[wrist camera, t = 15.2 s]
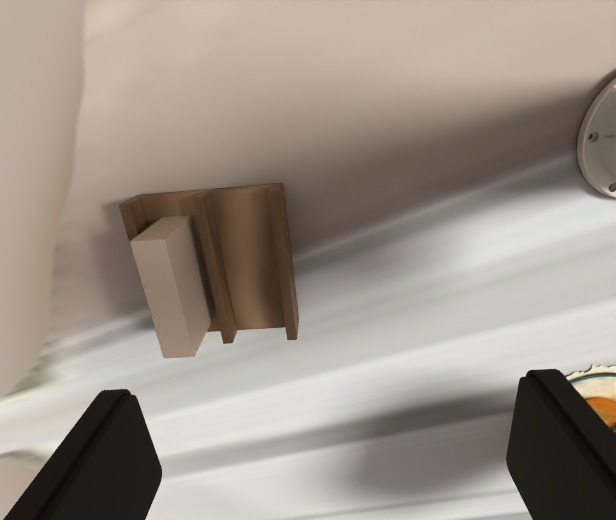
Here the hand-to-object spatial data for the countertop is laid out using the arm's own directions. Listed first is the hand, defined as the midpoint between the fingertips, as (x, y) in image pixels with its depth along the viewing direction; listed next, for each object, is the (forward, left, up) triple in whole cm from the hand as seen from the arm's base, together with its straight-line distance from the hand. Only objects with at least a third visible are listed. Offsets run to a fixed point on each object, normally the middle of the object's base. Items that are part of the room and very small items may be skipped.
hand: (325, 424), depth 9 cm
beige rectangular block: (+15, +8, -29) cm, 33 cm away
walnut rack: (+12, +8, -30) cm, 33 cm away
